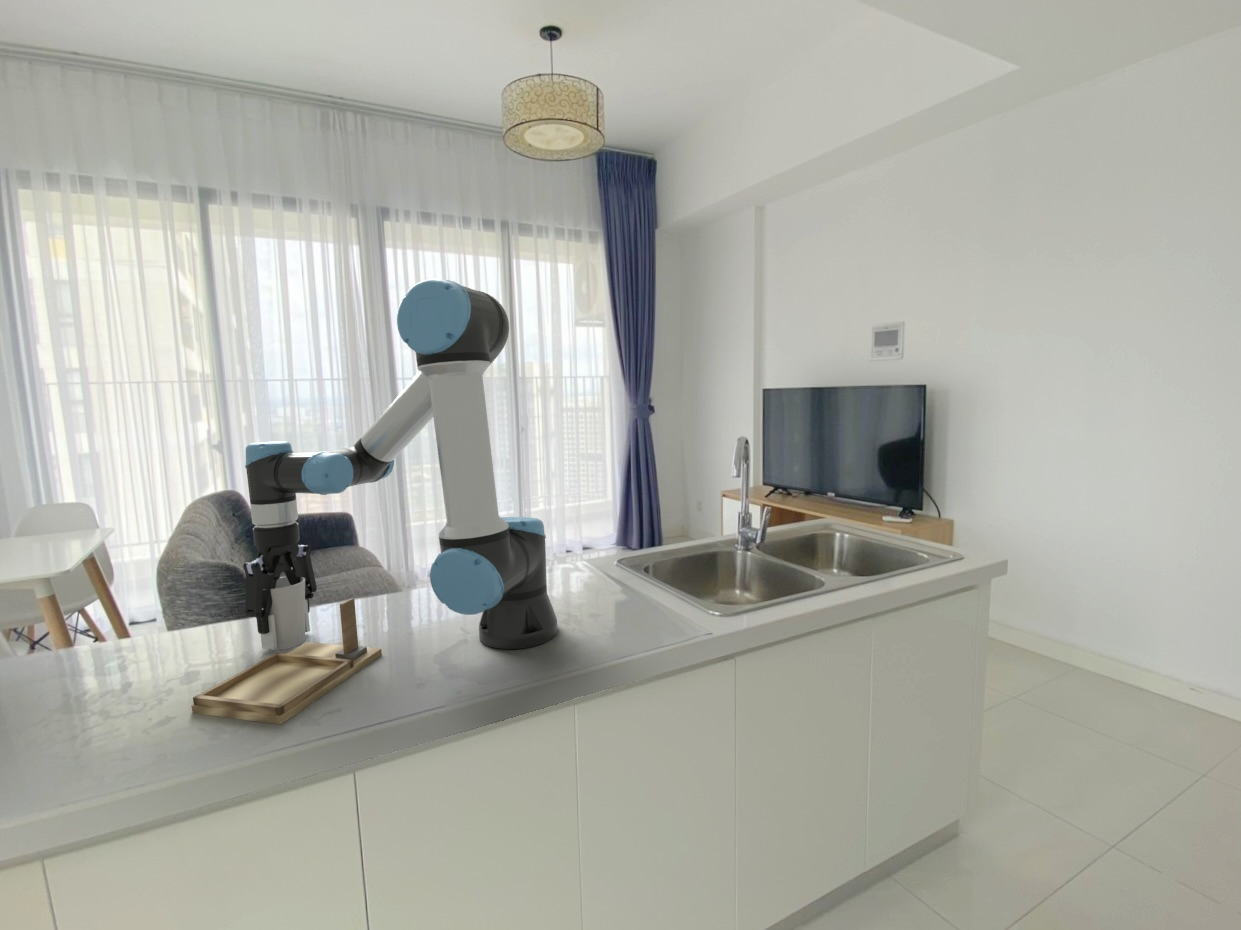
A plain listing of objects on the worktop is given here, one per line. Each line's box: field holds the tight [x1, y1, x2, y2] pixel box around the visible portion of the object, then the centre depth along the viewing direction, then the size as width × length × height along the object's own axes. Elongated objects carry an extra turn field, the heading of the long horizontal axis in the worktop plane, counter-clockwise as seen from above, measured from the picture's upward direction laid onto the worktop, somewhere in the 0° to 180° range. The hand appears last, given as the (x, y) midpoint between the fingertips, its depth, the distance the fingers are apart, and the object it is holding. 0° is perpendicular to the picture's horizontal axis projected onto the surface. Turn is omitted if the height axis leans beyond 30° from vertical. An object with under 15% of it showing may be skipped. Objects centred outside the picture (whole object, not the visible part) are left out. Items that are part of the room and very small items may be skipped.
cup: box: [262, 576, 307, 651], centre depth 112 cm, size 8×8×12 cm
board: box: [191, 597, 383, 725], centre depth 96 cm, size 16×23×11 cm
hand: (286, 639), depth 112 cm, fingers closed on cup, 7 cm apart
